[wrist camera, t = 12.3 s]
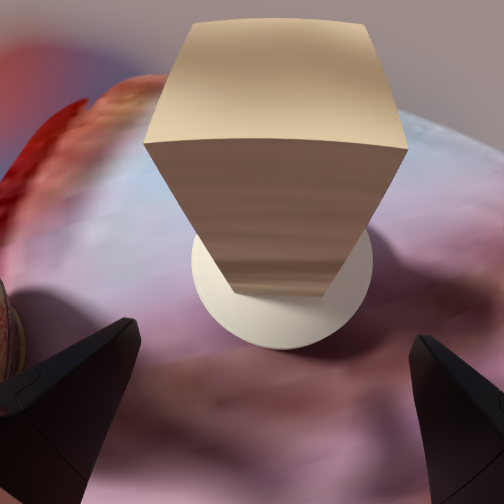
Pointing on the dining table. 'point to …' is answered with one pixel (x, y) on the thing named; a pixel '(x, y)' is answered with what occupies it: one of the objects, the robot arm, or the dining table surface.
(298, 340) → the cream plinth
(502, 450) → the robot arm
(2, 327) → the ceramic jug
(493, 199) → the dining table surface
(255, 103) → the maple block
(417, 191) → the dining table surface
